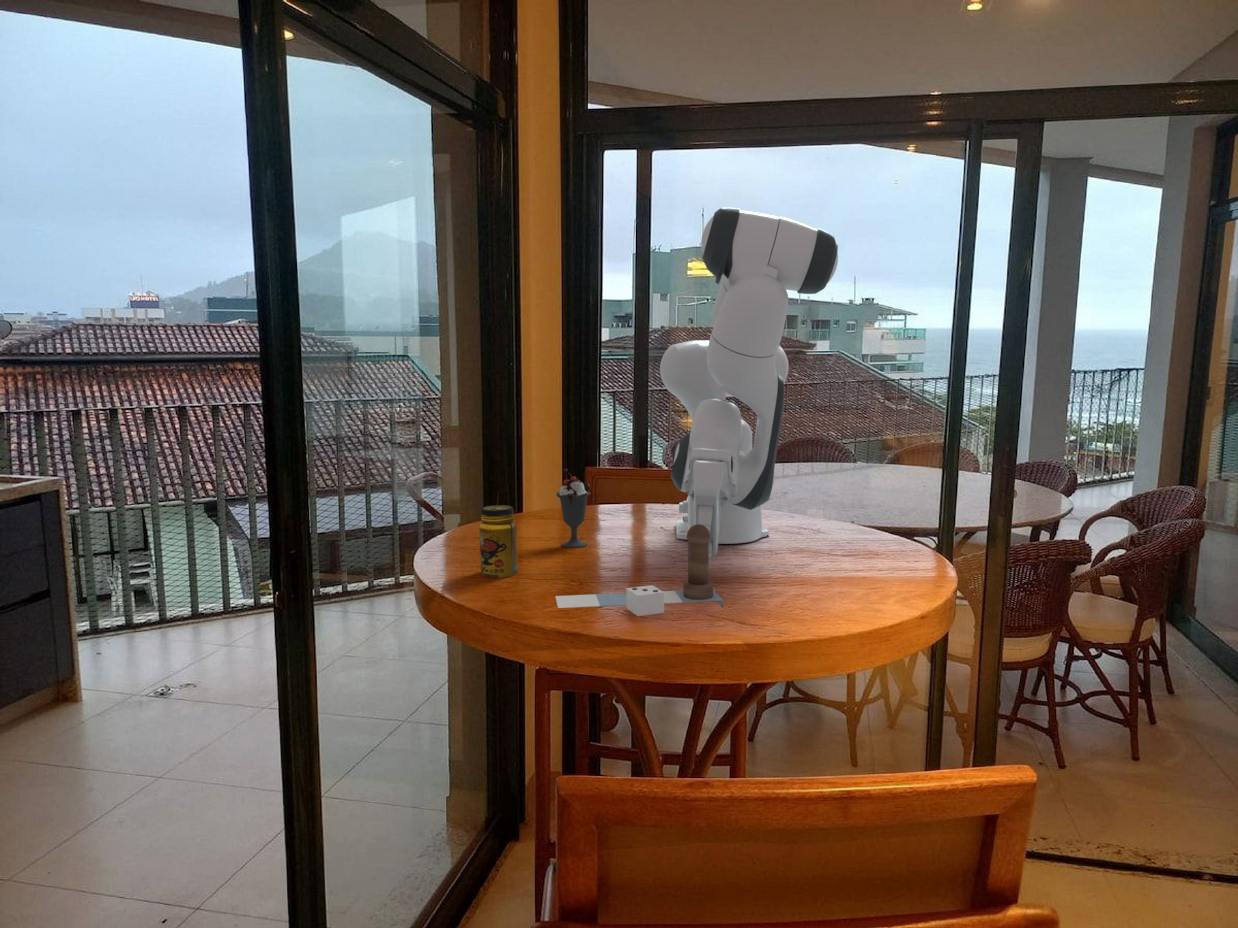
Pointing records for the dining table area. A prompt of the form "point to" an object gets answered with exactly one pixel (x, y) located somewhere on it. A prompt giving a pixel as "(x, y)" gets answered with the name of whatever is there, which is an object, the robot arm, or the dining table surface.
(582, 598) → the board
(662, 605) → the die
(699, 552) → the pawn
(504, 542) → the condiment
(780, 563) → the dining table surface
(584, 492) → the sundae
